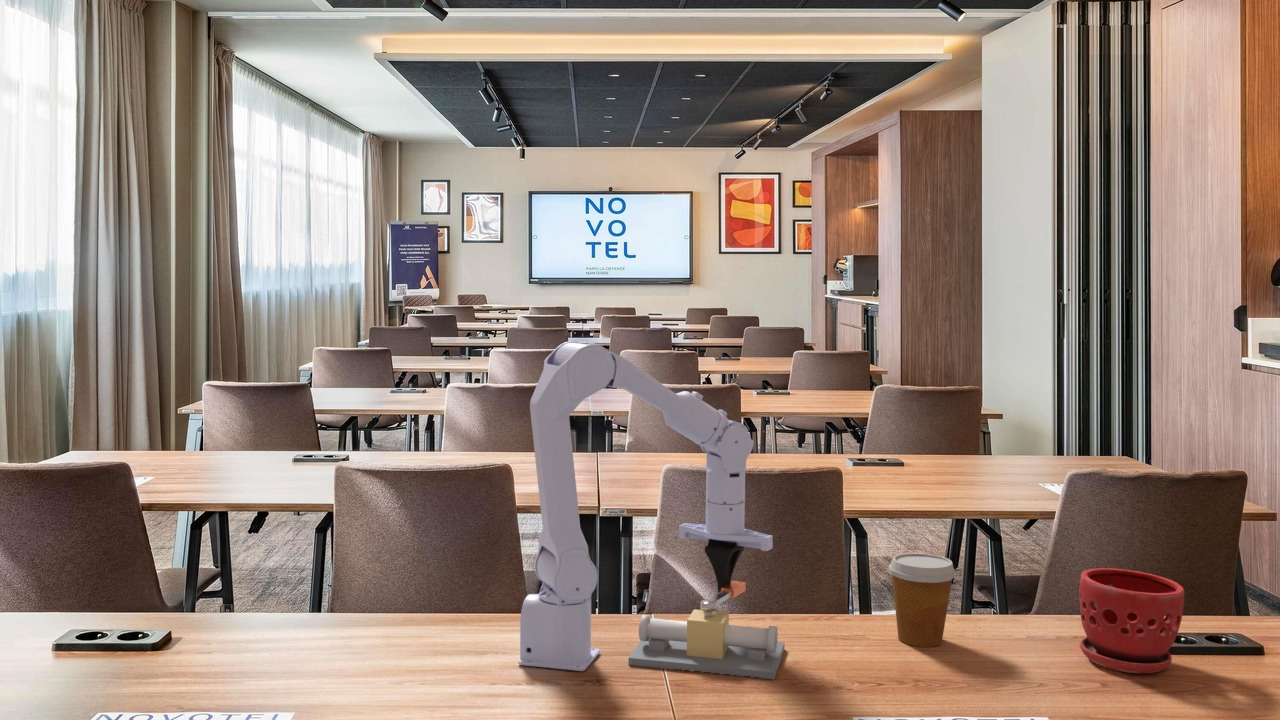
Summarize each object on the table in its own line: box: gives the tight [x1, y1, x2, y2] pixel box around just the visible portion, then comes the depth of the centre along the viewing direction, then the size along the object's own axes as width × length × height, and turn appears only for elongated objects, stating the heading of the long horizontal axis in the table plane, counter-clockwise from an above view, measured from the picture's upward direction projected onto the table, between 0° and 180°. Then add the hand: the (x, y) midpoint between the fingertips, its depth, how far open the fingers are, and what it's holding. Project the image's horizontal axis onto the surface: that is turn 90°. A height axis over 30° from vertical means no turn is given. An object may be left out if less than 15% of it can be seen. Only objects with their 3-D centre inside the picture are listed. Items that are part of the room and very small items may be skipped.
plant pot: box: [1078, 567, 1185, 674], centre depth 143 cm, size 13×13×12 cm
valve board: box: [628, 609, 785, 681], centre depth 144 cm, size 20×12×7 cm, turn 76°
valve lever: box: [699, 580, 747, 612], centre depth 148 cm, size 12×2×1 cm, turn 151°
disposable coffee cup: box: [888, 552, 956, 648], centre depth 152 cm, size 10×10×12 cm
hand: (724, 591), depth 152 cm, fingers closed
